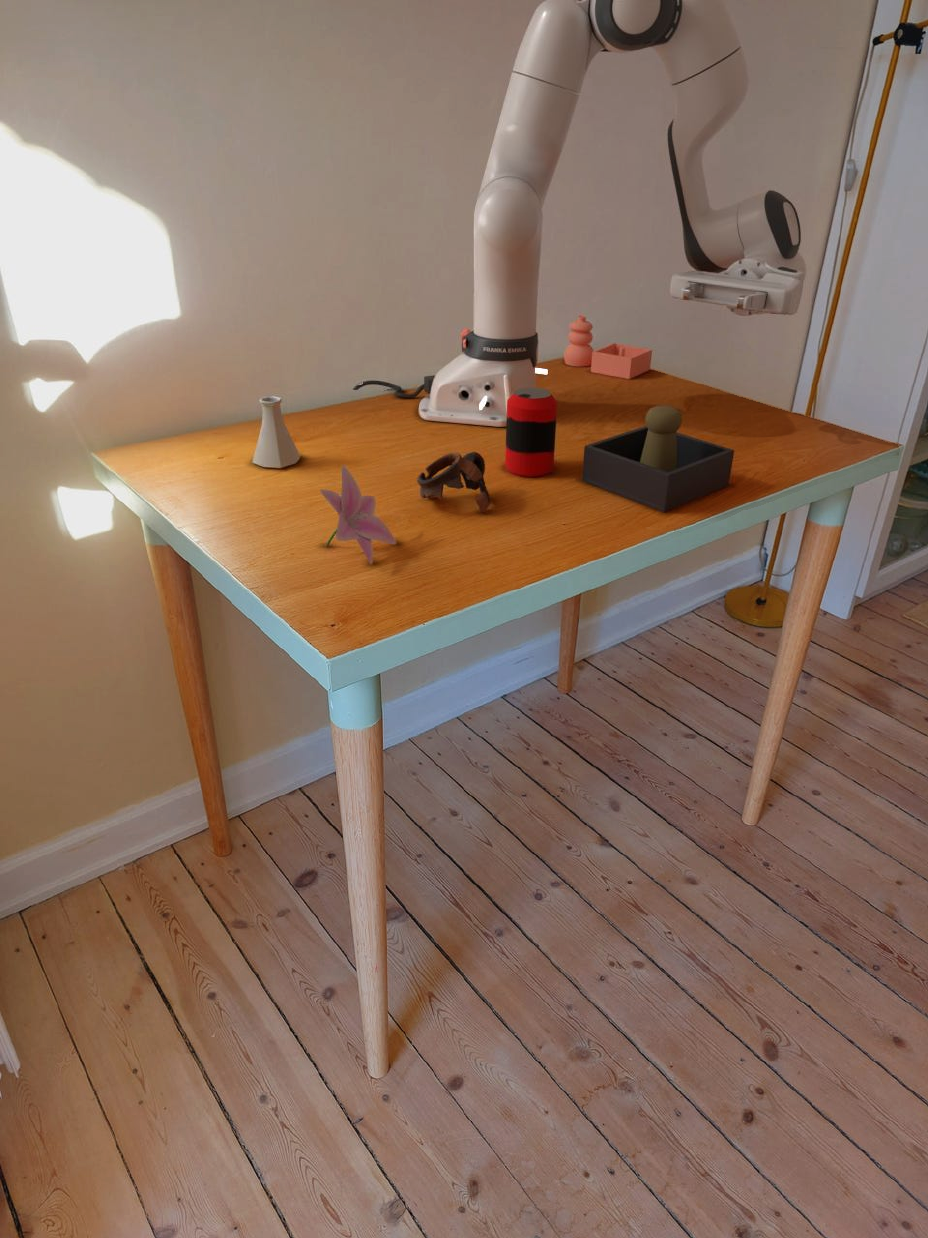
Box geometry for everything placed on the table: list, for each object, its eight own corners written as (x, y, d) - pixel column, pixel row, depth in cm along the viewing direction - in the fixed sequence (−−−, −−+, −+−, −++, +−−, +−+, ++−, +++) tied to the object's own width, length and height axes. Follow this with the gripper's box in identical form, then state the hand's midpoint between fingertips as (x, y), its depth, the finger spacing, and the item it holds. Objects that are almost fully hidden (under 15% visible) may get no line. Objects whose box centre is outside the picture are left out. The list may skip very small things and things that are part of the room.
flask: (308, 457, 145) (303, 395, 140) (282, 472, 139) (276, 408, 134) (271, 450, 147) (265, 390, 142) (244, 464, 142) (236, 402, 137)
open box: (664, 512, 127) (669, 475, 124) (581, 481, 137) (584, 445, 134) (728, 485, 136) (734, 449, 133) (646, 457, 146) (650, 424, 143)
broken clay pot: (480, 525, 124) (450, 476, 120) (429, 538, 130) (399, 492, 126) (513, 475, 131) (485, 428, 128) (463, 490, 137) (435, 445, 134)
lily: (324, 586, 109) (360, 525, 105) (274, 523, 114) (306, 462, 109) (392, 580, 119) (427, 524, 114) (343, 522, 123) (375, 466, 119)
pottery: (650, 369, 192) (655, 322, 187) (629, 379, 186) (634, 330, 181) (576, 356, 202) (580, 310, 197) (554, 364, 195) (557, 318, 190)
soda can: (495, 470, 140) (497, 394, 134) (522, 456, 146) (525, 382, 140) (536, 481, 137) (539, 403, 130) (562, 467, 142) (567, 391, 136)
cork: (676, 488, 133) (686, 415, 127) (635, 485, 134) (643, 412, 128) (676, 473, 138) (686, 403, 132) (636, 470, 139) (644, 400, 133)
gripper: (694, 258, 152) (654, 268, 142) (814, 273, 141) (780, 285, 131) (689, 297, 155) (650, 310, 145) (806, 315, 144) (772, 329, 134)
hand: (712, 298), depth 138 cm, fingers open, 8 cm apart
